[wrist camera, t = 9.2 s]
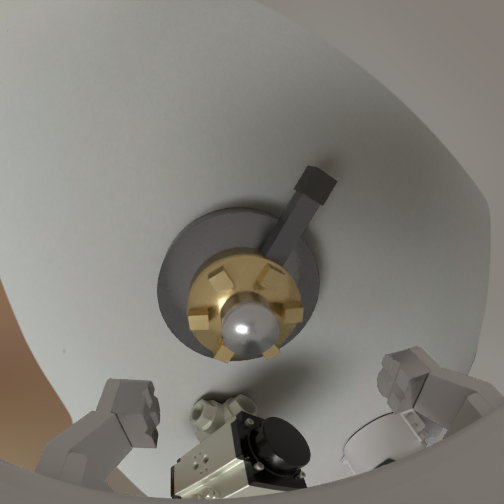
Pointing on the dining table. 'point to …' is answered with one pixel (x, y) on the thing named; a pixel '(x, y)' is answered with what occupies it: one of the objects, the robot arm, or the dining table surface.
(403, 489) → the robot arm
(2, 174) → the dining table surface
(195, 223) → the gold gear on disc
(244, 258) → the lever handle valve
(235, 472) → the ball valve
